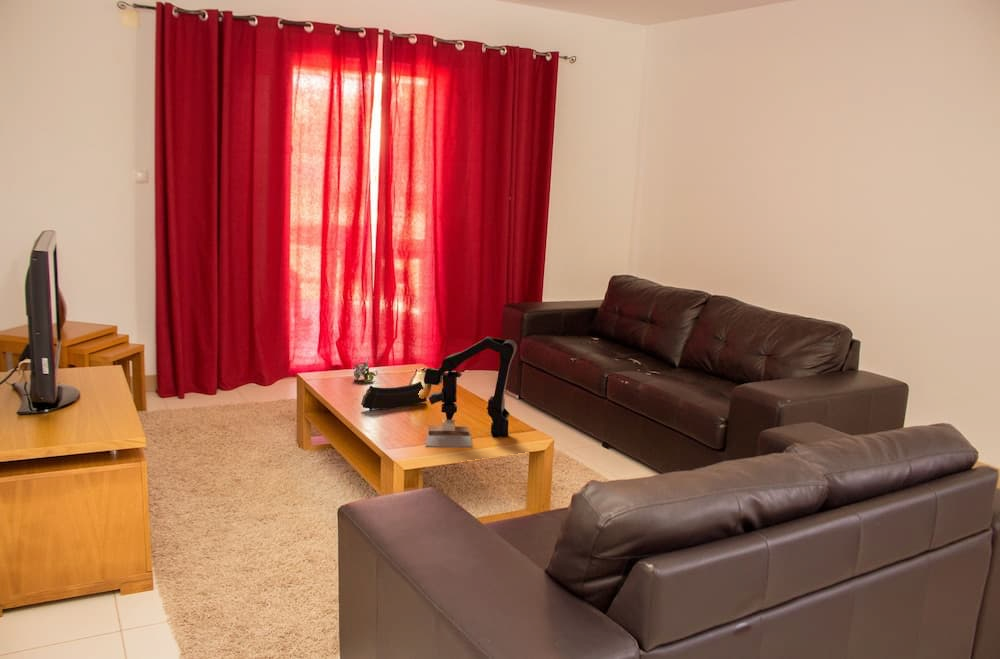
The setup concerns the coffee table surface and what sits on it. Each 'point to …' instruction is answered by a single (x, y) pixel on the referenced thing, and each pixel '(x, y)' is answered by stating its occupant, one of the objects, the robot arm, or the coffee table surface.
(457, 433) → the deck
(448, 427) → the peach square block
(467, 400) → the coffee table surface
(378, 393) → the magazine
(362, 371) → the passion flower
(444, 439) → the mat
